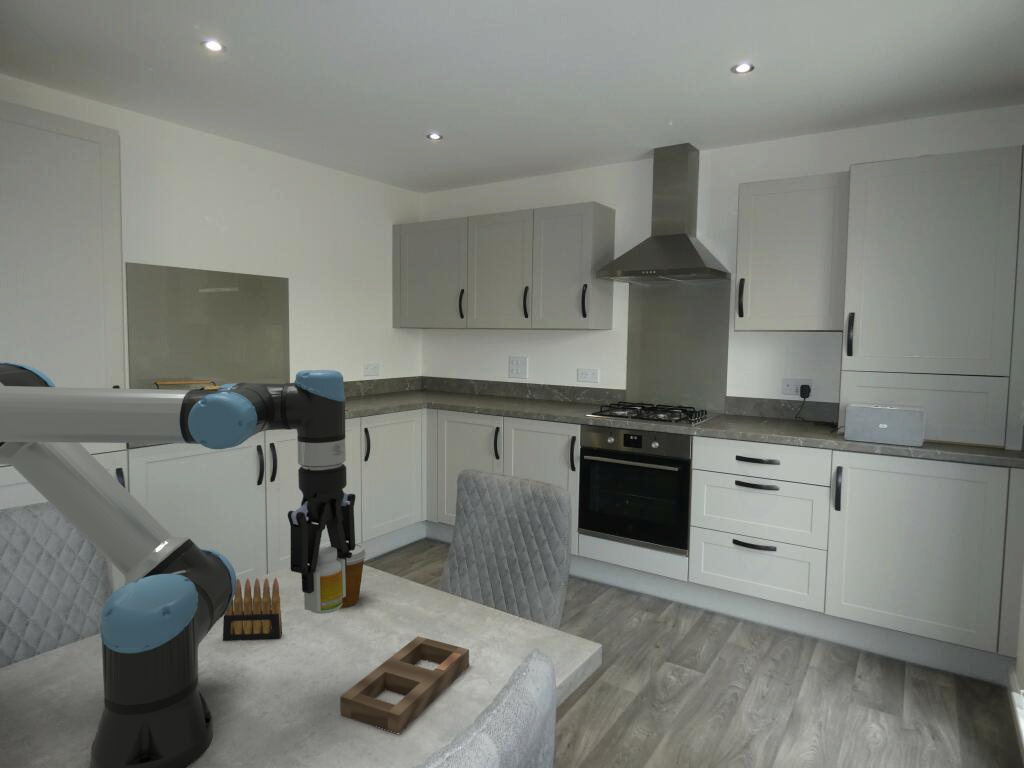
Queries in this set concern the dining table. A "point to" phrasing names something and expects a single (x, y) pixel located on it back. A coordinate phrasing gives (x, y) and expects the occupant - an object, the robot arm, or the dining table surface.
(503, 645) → the dining table surface
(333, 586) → the supplement bottle
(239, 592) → the ammunition clip
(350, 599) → the disposable coffee cup
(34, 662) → the dining table surface
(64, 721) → the dining table surface
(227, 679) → the dining table surface
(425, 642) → the rack
